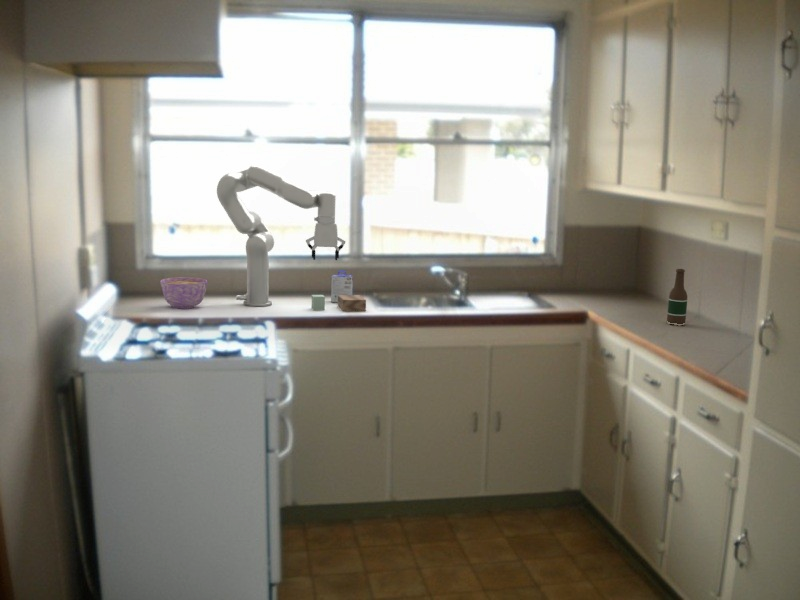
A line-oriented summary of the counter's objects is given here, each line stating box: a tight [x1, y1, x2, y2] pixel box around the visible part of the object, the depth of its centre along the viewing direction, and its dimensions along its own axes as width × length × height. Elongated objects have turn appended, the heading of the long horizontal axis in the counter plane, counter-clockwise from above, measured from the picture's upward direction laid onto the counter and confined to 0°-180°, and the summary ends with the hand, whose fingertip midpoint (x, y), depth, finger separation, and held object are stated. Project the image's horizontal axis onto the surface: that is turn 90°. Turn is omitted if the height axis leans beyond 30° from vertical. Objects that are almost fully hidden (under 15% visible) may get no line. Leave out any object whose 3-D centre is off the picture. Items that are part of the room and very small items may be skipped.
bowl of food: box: [159, 276, 209, 310], centre depth 389 cm, size 20×20×12 cm
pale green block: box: [311, 294, 326, 311], centre depth 396 cm, size 5×5×6 cm
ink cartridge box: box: [330, 269, 354, 303], centre depth 416 cm, size 10×6×14 cm, turn 94°
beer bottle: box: [666, 268, 688, 324], centre depth 387 cm, size 8×8×24 cm
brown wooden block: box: [337, 294, 367, 312], centre depth 400 cm, size 10×13×5 cm
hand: (325, 259), depth 396 cm, fingers open, 9 cm apart
